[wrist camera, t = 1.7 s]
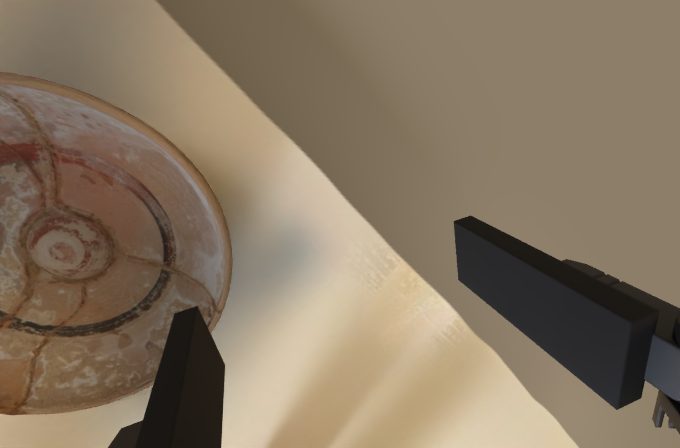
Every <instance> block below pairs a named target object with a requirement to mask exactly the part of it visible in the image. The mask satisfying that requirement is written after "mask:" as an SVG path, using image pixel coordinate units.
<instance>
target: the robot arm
mask: <svg viewBox="0 0 680 448" xmlns="http://www.w3.org/2000/svg"><path fill="white" fill-rule="evenodd" d="M454 229H455V243H456V254H457V267H458V280H459V281H460V282H462V283H463V284H464V285H465V286H467V287H468V288H469V289H470V290H472V291H473V292H474V293H475V294H476V295H478V296H479V297H480V298H481V299H483V300H484V301H485V302H486V303H487V304H489V305H490V306H491V307H492V308H493V309H495V310H496V311H497V312H498V313H499V314H501V315H502V316H503V317H504V318H506V319H507V320H508V321H509V322H511V323H512V324H513V325H514V326H515V327H516V328H518V329H519V330H520V331H521V332H523V333H524V334H525V335H526V336H527V337H529V338H530V339H531V340H532V341H534V342H535V343H536V344H537V345H539V346H540V347H541V348H542V349H543V350H544V351H546V352H547V353H548V354H549V355H551V356H552V357H553V358H554V359H555V360H557V361H558V362H559V363H560V364H562V365H563V366H564V367H565V368H566V369H568V370H569V371H570V372H571V373H572V374H574V375H575V376H576V377H577V378H579V379H580V380H581V381H582V382H583V383H585V384H586V385H587V386H588V387H590V388H591V389H592V390H593V391H594V392H596V393H597V394H598V395H599V396H600V397H602V398H603V399H604V400H605V401H607V402H608V403H609V404H610V405H611V406H613V407H614V408H615V409H616V410H618V409H619V408H622V407H624V406H626V405H628V404H630V403H632V402H634V401H636V400H638V399H640V398H641V396H642V391H643V387H644V382H645V380H646V381H647V382H649V383H650V384H652V385H653V386H654V387H656V388H657V389H659V392H658V397H657V401H656V405H655V409H654V414H653V418H652V419H653V421H654V424H655V427H661V426H662V422H663V418H664V414H665V413H666V414H667V416H668V417H669V424H668V425H669V428H676V429H677V431H678V432H679V434H680V308H677V307H676V306H673V305H671V304H669V303H667V302H665V301H663V300H661V299H659V298H657V297H654V296H652V295H650V294H648V293H646V292H644V291H642V290H640V289H638V288H636V287H633V286H631V285H629V284H627V283H625V282H623V281H622V282H620V281H619V279H616V278H614V277H612V276H610V275H605V274H604V272H602V271H600V270H598V269H596V268H593V267H591V266H589V265H587V264H583V263H579V262H576V261H572V260H568V259H566V260H563V261H560V260H558V259H556V258H554V257H552V256H550V255H548V254H546V253H544V252H542V251H540V250H538V249H536V248H534V247H532V246H530V245H528V244H526V243H524V242H522V241H520V240H518V239H516V238H514V237H512V236H510V235H508V234H506V233H504V232H502V231H500V230H498V229H496V228H494V227H492V226H490V225H488V224H486V223H484V222H482V221H480V220H478V219H476V218H475V217H473V216H468V217H465V218H462V219H459V220H456V221H454ZM224 376H225V364H224V362H223V360H222V357H221V355H220V353H219V351H218V349H217V347H216V345H215V342H214V340H213V338H212V336H211V334H210V332H209V329H208V327H207V325H206V323H205V321H204V319H203V316H202V314H201V312H200V310H199V308H198V306H195V307H192V308H189V309H186V310H183V311H180V312H177V313H174V317H173V320H172V323H171V327H170V330H169V334H168V337H167V340H166V344H165V347H164V351H163V354H162V357H161V361H160V364H159V368H158V371H157V374H156V378H155V381H154V385H153V388H152V391H151V395H150V398H149V402H148V405H147V408H146V412H145V415H144V419H143V421H140V422H137V423H135V424H132V425H129V426H127V427H124V428H121V430H120V431H119V433H118V434H117V435H116V437H115V438H114V440H113V441H112V443H111V444H110V445H109V447H108V448H221V439H222V418H223V397H224Z"/></svg>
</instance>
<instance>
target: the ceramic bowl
mask: <svg viewBox="0 0 680 448" xmlns="http://www.w3.org/2000/svg"><path fill="white" fill-rule="evenodd" d="M231 275H232V247H231V239H230V235H229V230H228V226H227V223H226V220H225V217H224V214H223V212H222V209H221V207H220V205H219V202H218V200H217V198H216V196H215V195H214V193H213V191H212V190H211V188H210V186H209V185H208V183H207V182H206V180H205V179H204V177H203V176H202V174H201V173H200V172H199V170H198V169H197V168H196V167H195V166H194V165H193V163H192V162H191V161H190V160H189V159H188V158H187V157H186V156H185V155H184V154H183V153H182V152H181V151H180V150H179V149H178V148H177V147H176V146H175V145H174V144H172V143H171V142H170V141H169V140H168V139H166V138H165V137H164V136H163V135H162V134H160V133H159V132H157V131H156V130H155V129H153V128H152V127H150V126H149V125H147V124H146V123H144V122H142V121H141V120H139V119H138V118H136V117H134V116H132V115H130V114H129V113H127V112H125V111H123V110H122V109H119V108H117V107H115V106H113V105H111V104H109V103H107V102H105V101H103V100H101V99H99V98H96V97H94V96H91V95H89V94H86V93H84V92H81V91H79V90H76V89H73V88H69V87H67V86H64V85H60V84H57V83H54V82H50V81H47V80H43V79H39V78H35V77H31V76H23V75H18V74H13V73H3V72H0V414H7V415H27V414H55V413H65V412H72V411H77V410H83V409H87V408H92V407H97V406H100V405H104V404H108V403H111V402H114V401H117V400H120V399H122V398H125V397H127V396H130V395H132V394H135V393H137V392H139V391H141V390H143V389H145V388H147V387H149V386H151V385H153V384H154V381H155V378H156V374H157V371H158V368H159V364H160V361H161V357H162V354H163V351H164V347H165V344H166V340H167V337H168V334H169V330H170V327H171V323H172V320H173V317H174V313H177V312H180V311H183V310H186V309H189V308H192V307H195V306H198V308H199V310H200V312H201V314H202V316H203V319H204V321H205V323H206V325H207V327H208V329H209V332H210V333H211V332H212V331H213V329H214V327H215V326H216V324H217V322H218V320H219V318H220V316H221V314H222V311H223V309H224V306H225V303H226V300H227V297H228V293H229V289H230V283H231Z"/></svg>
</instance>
